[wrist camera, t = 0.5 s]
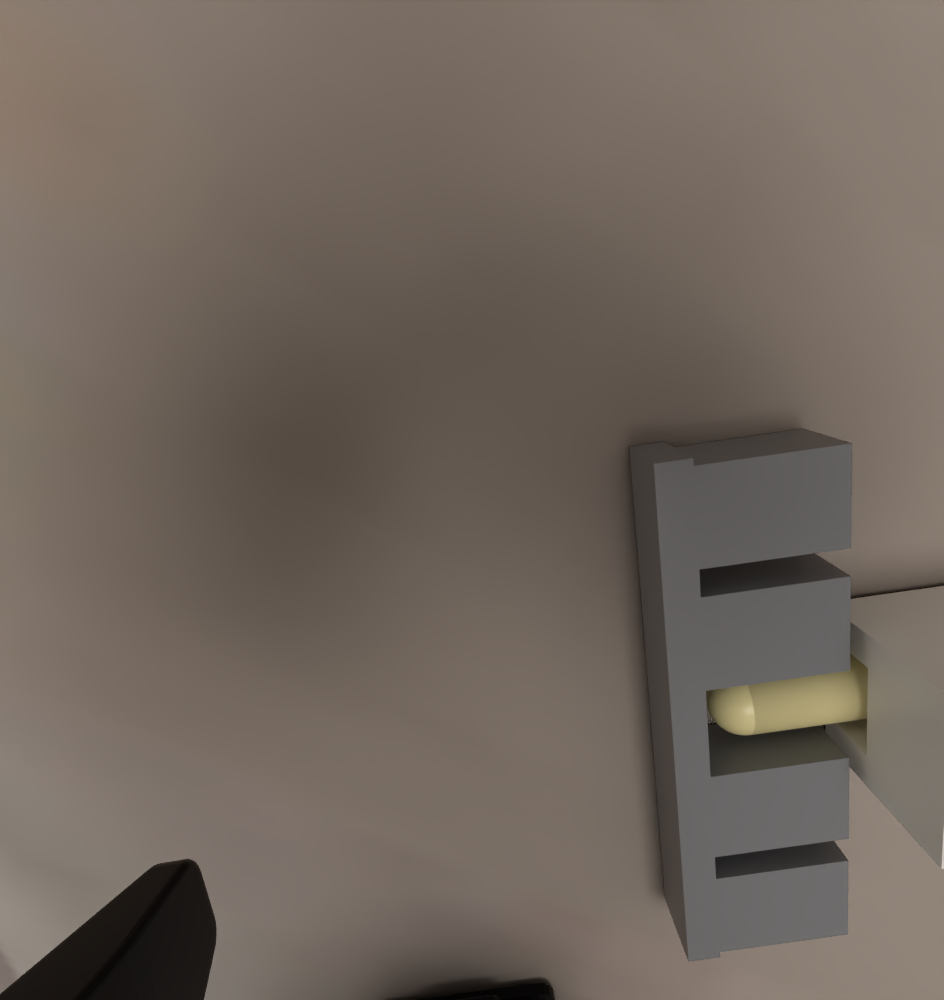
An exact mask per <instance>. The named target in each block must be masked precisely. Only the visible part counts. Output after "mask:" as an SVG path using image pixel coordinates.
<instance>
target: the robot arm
mask: <svg viewBox="0 0 944 1000" xmlns="http://www.w3.org/2000/svg"><path fill="white" fill-rule="evenodd" d="M215 945H216V921H215V916H214V913H213V910H212V907H211V903H210V900H209V897H208V893H207V890H206V887H205V883H204V880H203V877H202V874H201V871H200V868H199V866H198V865H197V863H196V862H195V861H193V860H191V859H184V860H178V861H172V862H166V863H160V864H157V865H155V866H153V867H151V868H150V869H149V870H147V871H146V872H145V873H144V874H143V875H142V876H140V877H139V878H138V879H137V880H136V881H134V882H133V883H132V884H131V885H130V886H128V887H127V888H126V889H125V890H124V891H122V892H121V893H120V894H119V895H118V896H116V897H115V898H114V899H113V900H112V901H110V902H109V903H108V904H107V905H106V906H105V907H103V908H102V909H101V910H100V911H99V912H97V913H96V914H95V915H94V916H93V917H91V918H90V919H89V920H88V921H87V922H85V923H84V924H83V925H82V926H81V927H79V928H78V929H77V930H76V931H75V932H74V933H72V934H71V935H70V936H69V937H68V938H66V939H65V940H64V941H63V942H62V943H60V944H59V945H58V946H57V947H56V948H54V949H53V950H52V951H51V952H50V953H48V954H47V955H46V956H45V957H44V958H42V959H41V960H40V961H39V962H38V963H37V964H35V965H34V966H33V967H32V968H31V969H29V970H28V971H27V972H26V973H25V974H23V975H22V976H21V977H20V978H19V979H17V980H16V981H15V982H14V983H13V984H11V985H10V986H9V987H8V988H7V989H6V990H4V991H3V992H2V993H1V994H0V1000H204V997H205V992H206V987H207V983H208V978H209V973H210V969H211V964H212V959H213V955H214V950H215ZM540 999H541V1000H555V995H554V991H553V988H552V987H551V986H549V985H547V984H545V983H537V984H529V985H522V986H515V987H508V988H500V989H493V990H486V991H479V992H471V993H464V994H457V995H450V996H443V997H435V998H428V999H421V1000H540Z"/></svg>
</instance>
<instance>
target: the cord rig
mask: <svg viewBox="0 0 944 1000" xmlns="http://www.w3.org/2000/svg"><path fill="white" fill-rule="evenodd" d="M629 451H630V464H631V476H632V489H633V502H634V514H635V527H636V540H637V552H638V565H639V578H640V590H641V603H642V616H643V628H644V641H645V653H646V666H647V679H648V691H649V704H650V717H651V729H652V742H653V755H654V767H655V780H656V793H657V805H658V818H659V831H660V843H661V856H662V869H663V881H664V894H665V900H666V902H667V905H668V908H669V910H670V913H671V916H672V918H673V921H674V924H675V927H676V929H677V932H678V935H679V937H680V940H681V943H682V945H683V948H684V951H685V953H686V956H687V959H688V961H695V960H703V959H710V958H717V957H720V952H724V951H731V950H738V949H745V948H753V947H760V946H767V945H774V944H782V943H789V942H796V941H803V940H811V939H818V938H825V937H832V936H839V935H847V934H848V860H847V858H846V857H845V855H844V854H843V853H842V851H841V850H840V849H839V847H838V846H837V845H836V843H835V842H834V841H835V840H842V839H849V757H848V756H847V755H846V754H845V753H844V752H843V750H842V749H841V748H840V747H839V746H838V745H837V744H836V743H835V742H834V741H833V739H832V738H831V737H830V736H829V735H828V734H827V733H826V732H825V731H824V730H823V729H822V727H821V726H820V725H826V724H833V723H841V722H848V721H855V720H862V719H867V701H868V668H867V667H866V666H865V665H864V664H862V663H861V662H860V661H859V660H858V659H856V658H855V657H854V656H853V655H852V654H850V612H851V576H849V575H848V574H846V573H845V572H843V571H841V570H840V569H838V568H837V567H835V566H834V565H832V564H831V563H829V562H827V561H826V560H824V559H823V558H821V557H820V556H818V555H816V554H815V553H820V552H827V551H834V550H841V549H848V548H851V496H852V443H849V442H846V441H842V440H839V439H836V438H833V437H829V436H826V435H823V434H819V433H816V432H813V431H810V430H806V429H797V430H790V431H783V432H776V433H769V434H762V435H755V436H748V437H741V438H734V439H727V440H720V441H713V442H706V443H699V444H692V445H685V446H678V447H673V446H671V445H669V444H667V443H666V442H658V443H651V444H644V445H637V446H630V447H629ZM707 709H708V711H709V714H710V715H711V717H712V718H713V720H714V721H715V722H716V723H717V724H709V725H708V720H707Z"/></svg>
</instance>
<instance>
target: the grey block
mask: <svg viewBox="0 0 944 1000" xmlns="http://www.w3.org/2000/svg"><path fill="white" fill-rule="evenodd" d="M850 654H852V655H853V656H854V657H855V658H856V659H858V660H859V661H860V662H861V663H862V664H864V665H865V666H866V667H867V668H868V701H867V719H862V720H855V721H848V722H841V723H833V724H826V725H825V732H826V733H827V734H828V735H829V736H830V737H831V738H832V739H833V741H834V742H835V743H836V744H837V745H838V746H839V747H840V748H841V749H842V750H843V752H844V753H845V754H846V755H847V756H848V757H849V766H850V768H851V769H852V770H853V771H854V772H855V773H856V774H857V775H858V776H859V778H860V779H861V780H862V781H863V782H864V783H865V784H866V785H867V787H868V788H869V789H870V790H871V791H872V792H873V793H874V794H875V795H876V797H877V798H878V799H879V800H880V801H881V802H882V803H883V804H884V806H885V807H886V808H887V809H888V810H889V811H890V812H891V813H892V814H893V816H894V817H895V818H896V819H897V820H898V821H899V822H900V823H901V824H902V826H903V827H904V828H905V829H906V830H907V831H908V832H909V833H910V835H911V836H912V837H913V838H914V839H915V840H916V841H917V842H918V843H919V845H920V846H921V847H922V848H923V849H924V850H925V851H926V852H927V853H928V855H929V856H930V857H931V858H932V859H933V860H934V861H935V862H936V864H937V865H938V866H939V867H940V868H941V869H944V586H939V587H932V588H925V589H918V590H911V591H903V592H896V593H889V594H882V595H875V596H868V597H861V598H854V599H851V612H850Z"/></svg>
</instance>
